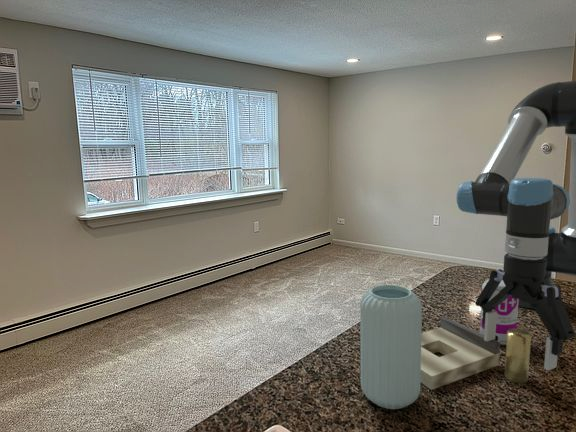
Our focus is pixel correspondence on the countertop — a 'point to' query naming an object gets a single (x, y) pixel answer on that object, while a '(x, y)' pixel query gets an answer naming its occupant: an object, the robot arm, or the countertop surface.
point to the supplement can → (502, 315)
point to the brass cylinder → (517, 355)
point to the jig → (455, 354)
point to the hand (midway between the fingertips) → (517, 353)
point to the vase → (390, 346)
